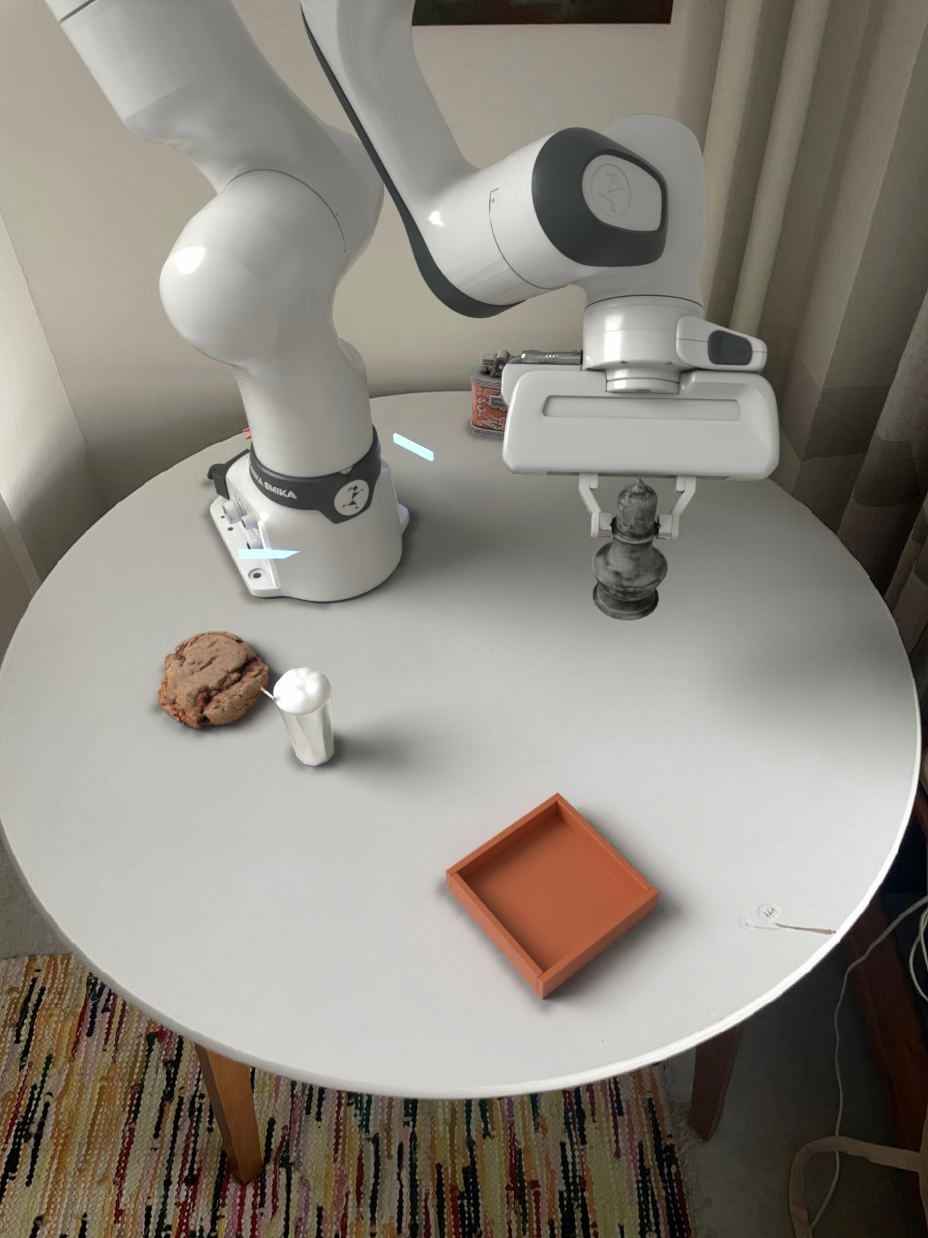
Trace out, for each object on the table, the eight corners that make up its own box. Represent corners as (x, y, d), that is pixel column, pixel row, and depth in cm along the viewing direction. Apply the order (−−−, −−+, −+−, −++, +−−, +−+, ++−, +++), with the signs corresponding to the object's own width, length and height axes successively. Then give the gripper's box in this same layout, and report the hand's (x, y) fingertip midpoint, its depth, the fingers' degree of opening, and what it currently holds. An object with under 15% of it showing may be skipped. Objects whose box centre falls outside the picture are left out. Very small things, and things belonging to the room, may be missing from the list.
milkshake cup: (273, 743, 89) (252, 667, 81) (332, 722, 90) (317, 646, 83) (288, 783, 86) (268, 708, 78) (349, 761, 87) (335, 685, 80)
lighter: (468, 435, 118) (466, 359, 111) (473, 418, 120) (471, 342, 113) (538, 441, 117) (541, 364, 110) (541, 423, 119) (544, 347, 112)
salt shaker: (660, 627, 80) (679, 509, 71) (584, 618, 81) (594, 500, 72) (664, 575, 84) (683, 457, 75) (592, 567, 85) (603, 449, 76)
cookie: (242, 628, 98) (236, 606, 96) (286, 702, 92) (281, 680, 89) (141, 669, 95) (133, 647, 93) (180, 749, 88) (171, 727, 86)
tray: (446, 887, 79) (445, 870, 77) (556, 809, 83) (557, 791, 81) (542, 999, 72) (543, 984, 71) (655, 908, 77) (659, 892, 75)
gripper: (500, 338, 74) (493, 531, 74) (789, 344, 73) (781, 540, 73) (503, 358, 80) (497, 535, 81) (769, 363, 79) (761, 544, 79)
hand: (634, 538), depth 77 cm, fingers closed on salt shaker, 3 cm apart
